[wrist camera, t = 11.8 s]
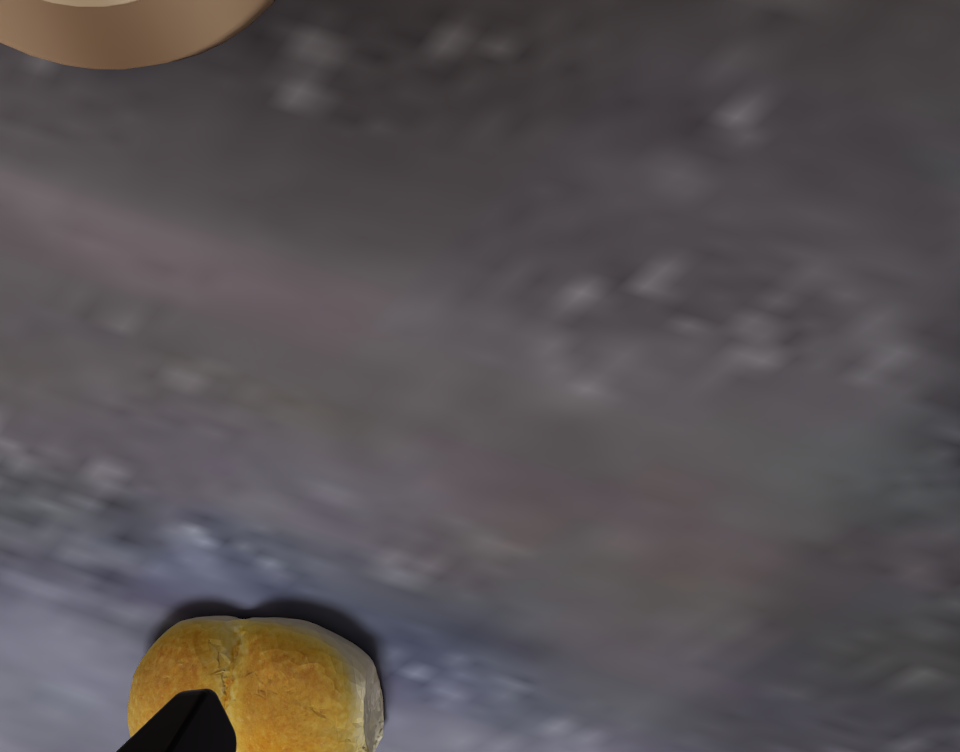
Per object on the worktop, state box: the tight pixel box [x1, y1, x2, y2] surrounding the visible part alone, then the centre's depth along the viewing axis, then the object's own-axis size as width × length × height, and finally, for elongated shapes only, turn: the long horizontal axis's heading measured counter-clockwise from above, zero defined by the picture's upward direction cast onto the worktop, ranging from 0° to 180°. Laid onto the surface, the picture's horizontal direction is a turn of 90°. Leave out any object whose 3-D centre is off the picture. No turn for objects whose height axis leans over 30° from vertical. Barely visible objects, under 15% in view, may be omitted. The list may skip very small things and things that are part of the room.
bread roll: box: [128, 616, 384, 752], centre depth 27 cm, size 8×9×4 cm
